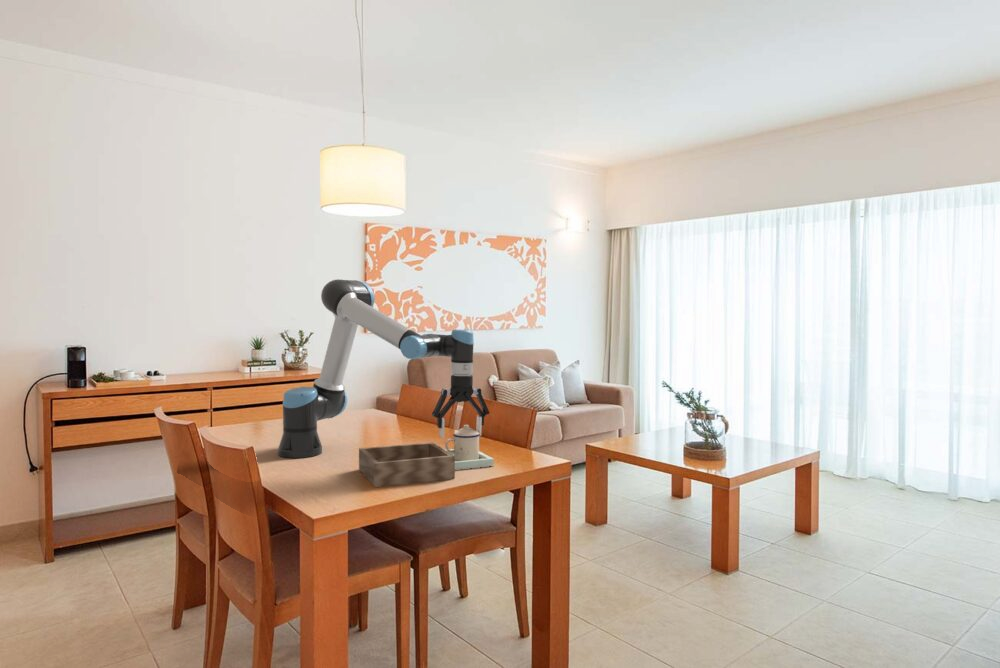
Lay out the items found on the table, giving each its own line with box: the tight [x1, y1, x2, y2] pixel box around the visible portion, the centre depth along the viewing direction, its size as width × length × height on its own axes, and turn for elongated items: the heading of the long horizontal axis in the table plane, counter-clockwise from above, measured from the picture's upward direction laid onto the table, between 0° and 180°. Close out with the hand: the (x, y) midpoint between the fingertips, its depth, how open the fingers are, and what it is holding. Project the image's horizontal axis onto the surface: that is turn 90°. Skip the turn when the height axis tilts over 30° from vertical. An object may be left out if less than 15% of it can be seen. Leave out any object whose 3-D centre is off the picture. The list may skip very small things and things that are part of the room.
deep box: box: [358, 441, 456, 488], centre depth 201 cm, size 25×22×7 cm
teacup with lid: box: [444, 424, 480, 461], centre depth 218 cm, size 12×9×12 cm
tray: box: [444, 448, 495, 471], centre depth 218 cm, size 16×19×2 cm
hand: (460, 436), depth 217 cm, fingers open, 13 cm apart
